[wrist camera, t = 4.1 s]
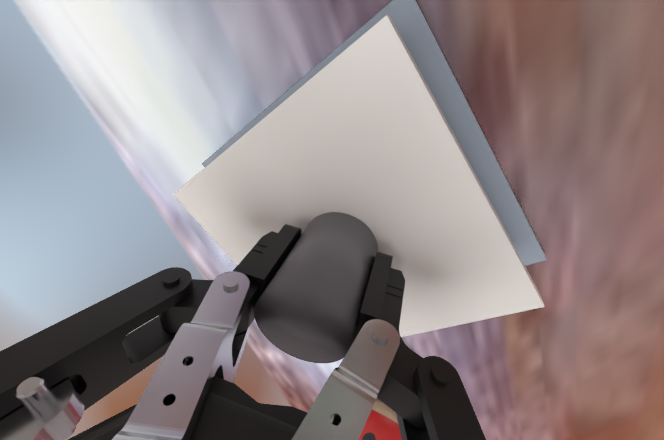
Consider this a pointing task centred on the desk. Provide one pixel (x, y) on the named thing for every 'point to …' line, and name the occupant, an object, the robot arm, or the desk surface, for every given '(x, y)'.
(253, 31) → the desk surface
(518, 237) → the mat
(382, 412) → the ladybug figurine
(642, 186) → the desk surface
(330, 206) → the lid
